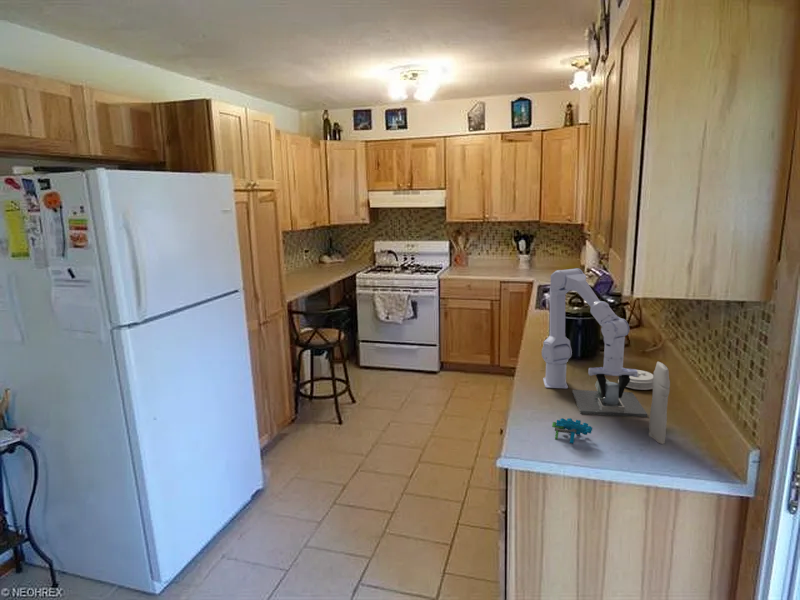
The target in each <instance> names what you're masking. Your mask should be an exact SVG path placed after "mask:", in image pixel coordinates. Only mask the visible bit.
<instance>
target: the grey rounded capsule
mask: <svg viewBox="0 0 800 600" xmlns="http://www.w3.org/2000/svg"><path fill="white" fill-rule="evenodd" d="M619 387H620V385H619V383H618V382H614V381H609V382H606V384H605V397H604V402H605V403H607V404H611V405H615V404H618V402H619Z"/></svg>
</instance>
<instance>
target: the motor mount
mask: <svg viewBox="0 0 800 600" xmlns="http://www.w3.org/2000/svg"><path fill="white" fill-rule="evenodd" d="M605 379H606V382H610V380H609V379H608V378H605ZM594 386H595V388H596V389H595V390H589V389H588V390H585V389H572V395H573V398H574V400H575V403H576V406H577V408H578V411H579V413H580V414H582V415H595V416H599V415H601V416H614V417H615V416H616V417H617V416H618V417H619V416H620V417H634V418H635V417H637V418H639V417H641V418H648V412H647V411H646V410H645V409H644V407H643V406H642V403H641V402H640V401H639V400H638V399H637V397H636V395H635V394H634V392H632V391H629V392H628V391H624V392H623V394H622V398H619V402H618V404H615V405H611V404H607V403H605V402H604V397H602V396H601V389H600V385H599V382H598V379H596V382H595V384H594Z"/></svg>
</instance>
